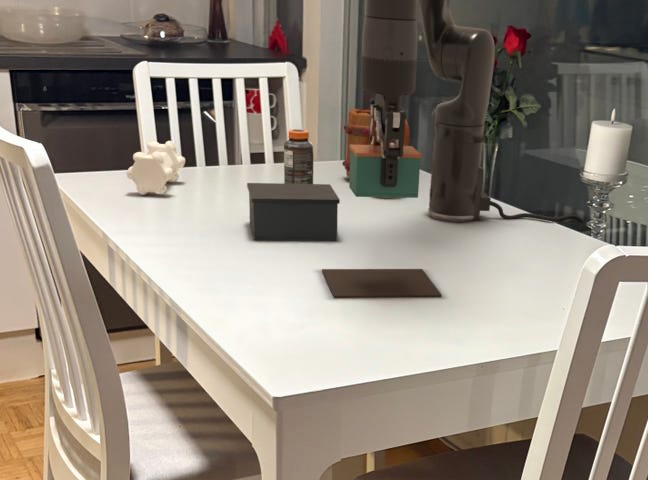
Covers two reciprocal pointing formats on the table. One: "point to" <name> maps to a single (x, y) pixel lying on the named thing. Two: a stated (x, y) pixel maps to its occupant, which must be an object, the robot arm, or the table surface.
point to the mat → (379, 283)
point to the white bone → (156, 167)
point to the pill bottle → (298, 158)
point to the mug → (362, 132)
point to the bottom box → (293, 211)
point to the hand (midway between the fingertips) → (384, 180)
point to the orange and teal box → (369, 172)
